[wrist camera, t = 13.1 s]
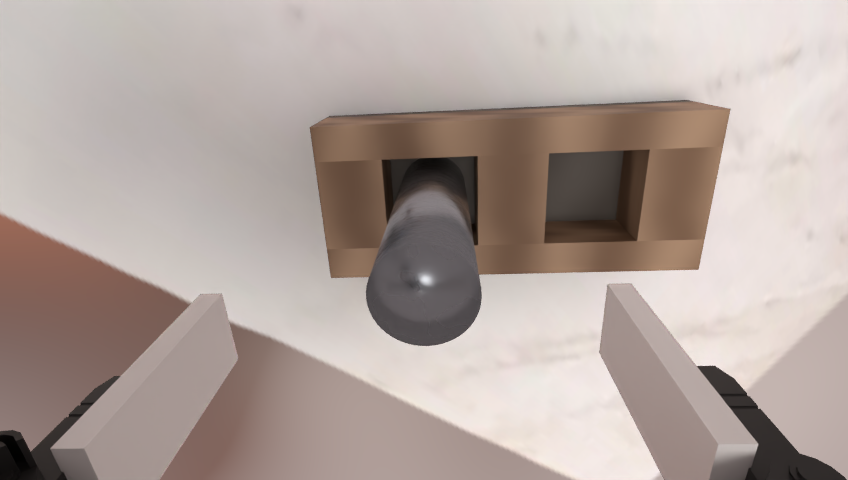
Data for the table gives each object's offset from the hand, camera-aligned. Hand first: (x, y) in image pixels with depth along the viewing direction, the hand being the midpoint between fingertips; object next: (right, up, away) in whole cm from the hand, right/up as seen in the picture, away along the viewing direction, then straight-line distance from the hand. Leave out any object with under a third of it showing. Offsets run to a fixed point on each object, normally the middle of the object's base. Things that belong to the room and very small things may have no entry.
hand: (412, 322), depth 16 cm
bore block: (+6, +7, +17) cm, 20 cm away
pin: (+1, +7, +16) cm, 18 cm away
